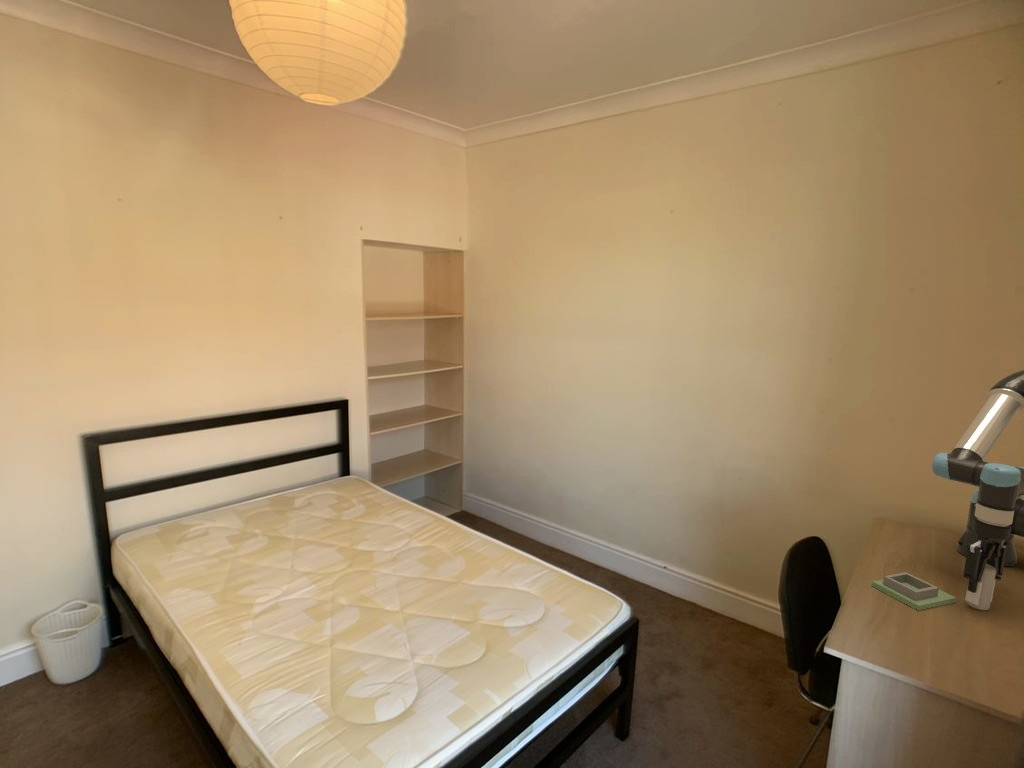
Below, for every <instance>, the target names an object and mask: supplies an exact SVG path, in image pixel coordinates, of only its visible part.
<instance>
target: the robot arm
mask: <svg viewBox="0 0 1024 768" xmlns="http://www.w3.org/2000/svg"><path fill="white" fill-rule="evenodd" d="M985 398H986V400H987V401H986V402H985V403H984V404H983V406H982V407H981V409H980V410H979V412H978V414H977V415H976V417H974V419H973V420H972V422H971V424H970V425H969V426H968V428H967V429H966V430H965V431H964V433H963V435H962V436H961V438H960V439H959V440H958V442H956V445H955V446H954V448H953V449H952V451H950V453H948V452H938V453H937V454H935V456H934V458H933V460H932V464H931V470H932V473H933V474H934V475H935V476H937V477H940V478H943V479H946V480H949V481H953V482H954V481H955V482H959V483H963V484H966V485H971V486H975V487H978V488H977V489H976V490H973V491H972V496H971V500H970V501H969V502H970V504H969V509H968V510H969V511H968V515H967V516H968V517H967V524H966V528H965V531H964V532H963V533H962V535H960V537H959V538H958V540H957V541H956V542H957V543H956V548H955V550H956V551H957V552H958V553H959V554H960V555H962V556H964V557H966V559H965V563H964V569H963V575H962V576H963V578H966V579H968V582H967V587H966V588H967V589H966V594H965V599H964V600H965V601H966V600H967V601H969V602H971V603H973V604H975V605H978V604H979V598H980V593H981V587H982V582H980V580H981V577H982V574H983V571H984V568H985V565H986V564H989V565H991V566H993V567H995V568H996V575H995V580H994V586H993V591H992V597H991V602H990V603H992V602H993V596H994V592H995V586H996V580H997V581H1002V577H1001V576H1003V573H1004V568H1005V567H1004V566H1012V567H1014V566H1013V565H1015V564H1016V565H1017V563H1018V556H1017V551H1016V546H1015V543H1014V537H1015V536H1018V537H1021V538H1024V499H1022V498H1023V497H1022V496H1024V466H1012V465H1008V464H1004V463H996V462H993V463H992V462H989V461H984V460H985V459H986V458H987V457H988V455H989V454H990V452H991V450H992V449H993V448H994V446H995V445H996V443H997V442H998V441H999V439H1000V438H1001V436H1002V434H1003V433H1004V431H1005V430H1007V429H1006V428H1008V426H1009V424H1011V421H1012V420H1013V419H1014V417H1015V416H1016V414H1017V413H1018V412H1021V411H1023V410H1024V369H1021V370H1018V371H1016V372H1013V373H1011V374H1009V375H1007V376H1005V377H1003V378H1002V379H1001V380H999V381H997V382H996V383H995V384H994V385H993V386H992V387H991V388H990V390H989V391H988V392H987V394H986V397H985ZM1016 565H1015V566H1016Z"/></svg>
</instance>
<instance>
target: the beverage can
mask: <svg viewBox="0 0 1024 768" xmlns="http://www.w3.org/2000/svg"><path fill="white" fill-rule="evenodd" d="M995 575H996V568H995V567H993V566H991V565H989V564H986V565H985V568H984V571H983V574H982V577H981V580H980V582H982V587H981V593H980V598H979V604H978V605H975V604H973V603H971V602H969V601H967V600H965V601H966V604H967V605H968V606H970V607H972V608H973V609H976V610H979V611H987V610H989V609H990V607H991V603H992V602H991V597H992V591H993V586H994V580H995V581H996V579H995ZM994 587H995V586H994ZM993 592H994V591H993ZM992 598H993V597H992Z"/></svg>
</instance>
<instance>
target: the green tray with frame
mask: <svg viewBox="0 0 1024 768" xmlns="http://www.w3.org/2000/svg"><path fill="white" fill-rule="evenodd" d="M871 583H872V584H871V587H873V588H875V589H877V590H879V591H880V592H882V593H883V594H886V595H888V596H890V597H891V598H893V599H896V600H897V601H899V602H901V601H902V602H901V603H903V602H904V603H905V605H906V604H907V605H906V606H908V605H909V606H908V607H910V606H911V607H910V608H912V607H913V608H912V609H914V608H915V609H914V610H916V609H917V610H916V611H918V610H920V611H923V610H922V609H924V610H928V609H927V608H929V609H932V608H931V607H933V608H936V607H937V606H938V607H942V606H947V605H950V604H951V605H952V604H955V603H956V602H957V597H956V596H954V595H951V594H949V593H948V592H945V591H944V590H942V589H940V587H938V586H935V585H934V584H932V583H930V582H927V581H925V580H923V579H921V578H919V577H917V576H915V575H913V574H911V573H908V572H907V571H905V572H900V573H893V574H887V575H883V579H878V580H873V581H871ZM904 603H903V604H904Z"/></svg>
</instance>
